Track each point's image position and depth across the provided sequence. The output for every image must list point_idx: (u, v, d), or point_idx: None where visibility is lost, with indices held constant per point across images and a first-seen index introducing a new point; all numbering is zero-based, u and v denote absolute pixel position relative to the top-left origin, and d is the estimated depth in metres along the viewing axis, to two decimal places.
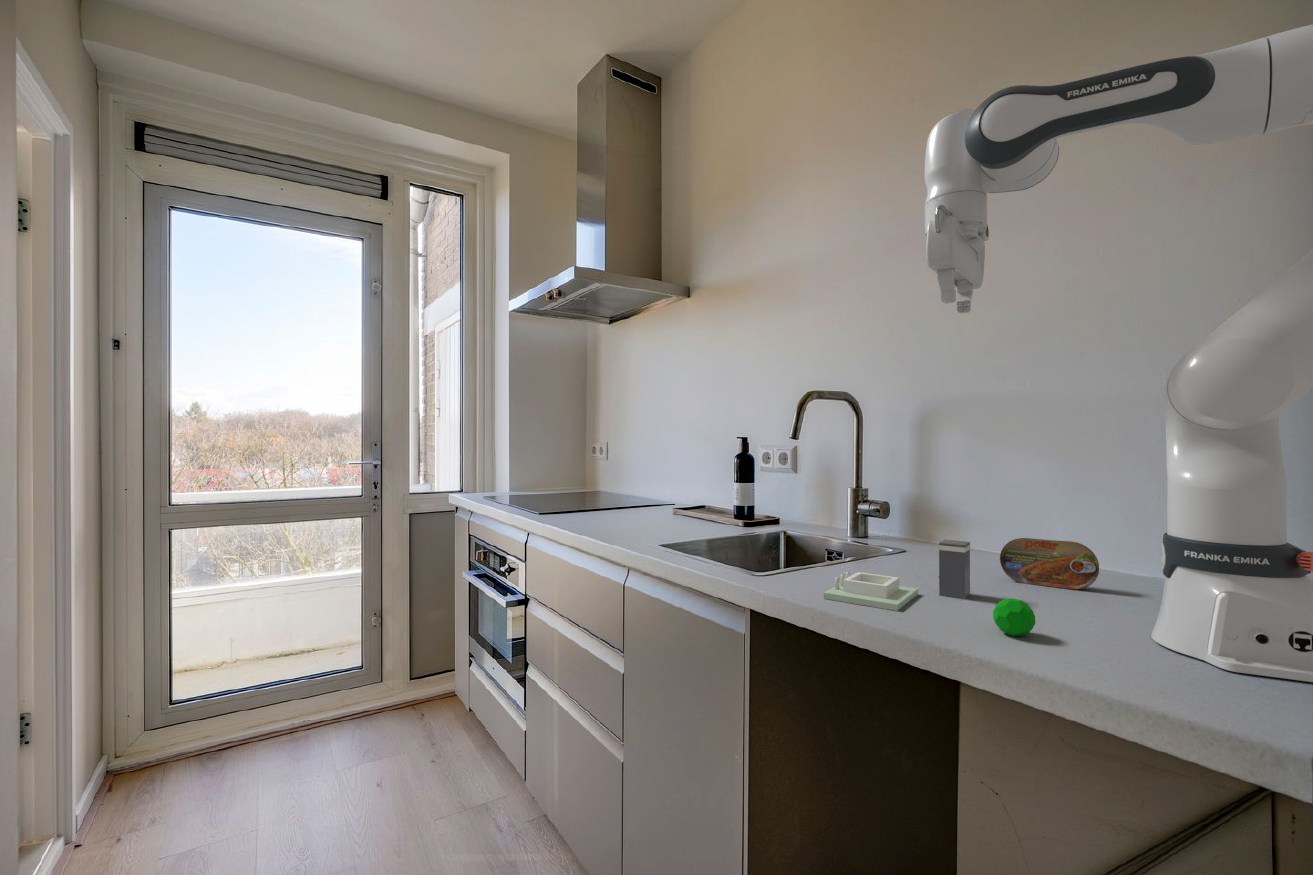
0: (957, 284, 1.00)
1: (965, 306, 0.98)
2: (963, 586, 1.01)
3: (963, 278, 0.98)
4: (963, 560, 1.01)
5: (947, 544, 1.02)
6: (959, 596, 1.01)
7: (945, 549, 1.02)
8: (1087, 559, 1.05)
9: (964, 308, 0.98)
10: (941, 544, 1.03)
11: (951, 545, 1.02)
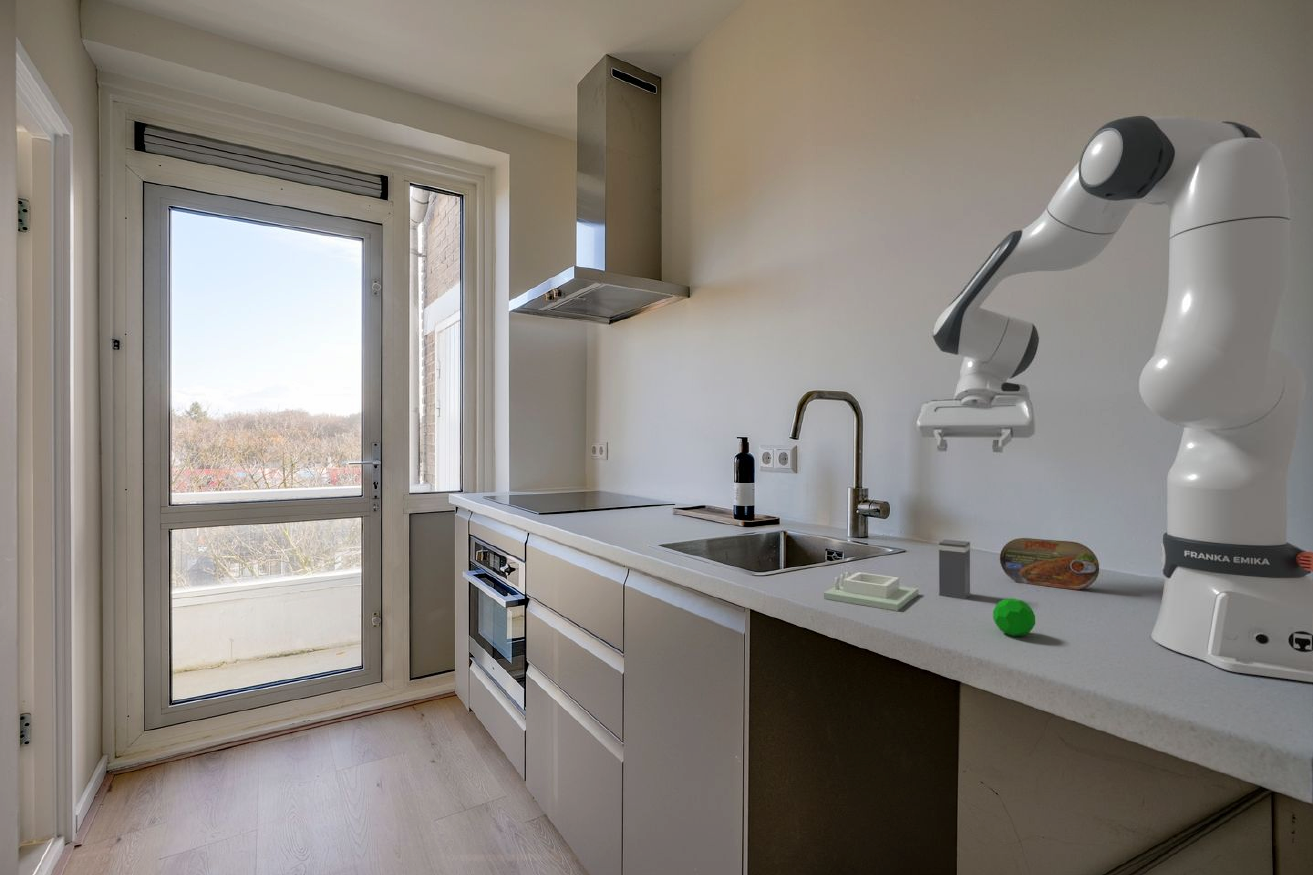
0: None
1: None
2: (963, 586, 1.01)
3: (994, 428, 1.13)
4: (963, 560, 1.01)
5: (947, 544, 1.02)
6: (959, 596, 1.01)
7: (945, 549, 1.02)
8: (1087, 559, 1.05)
9: None
10: (941, 544, 1.03)
11: (951, 545, 1.02)
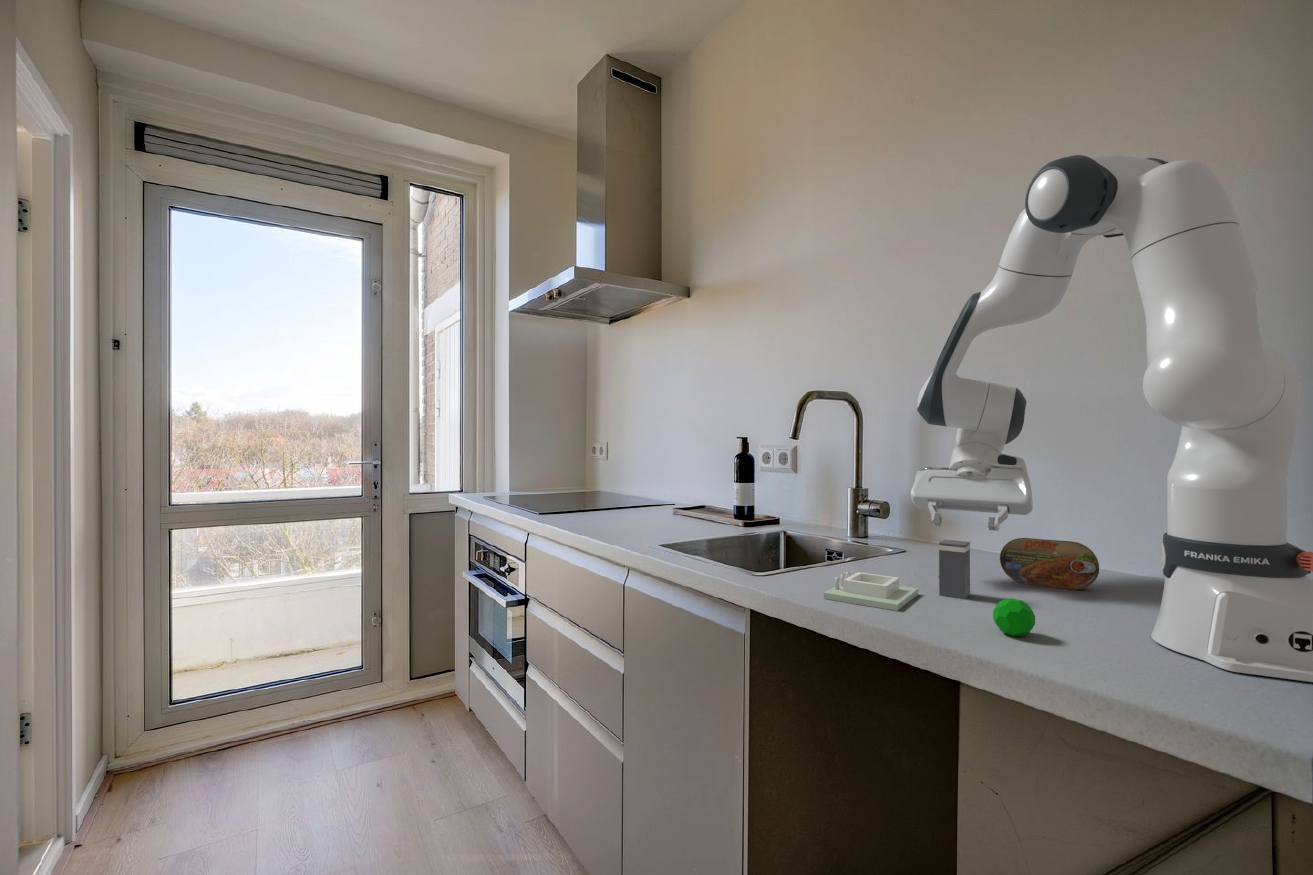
0: None
1: None
2: (963, 586, 1.01)
3: (990, 503, 1.09)
4: (963, 560, 1.01)
5: (947, 544, 1.02)
6: (959, 596, 1.01)
7: (945, 549, 1.02)
8: (1087, 559, 1.05)
9: None
10: (941, 544, 1.03)
11: (951, 545, 1.02)
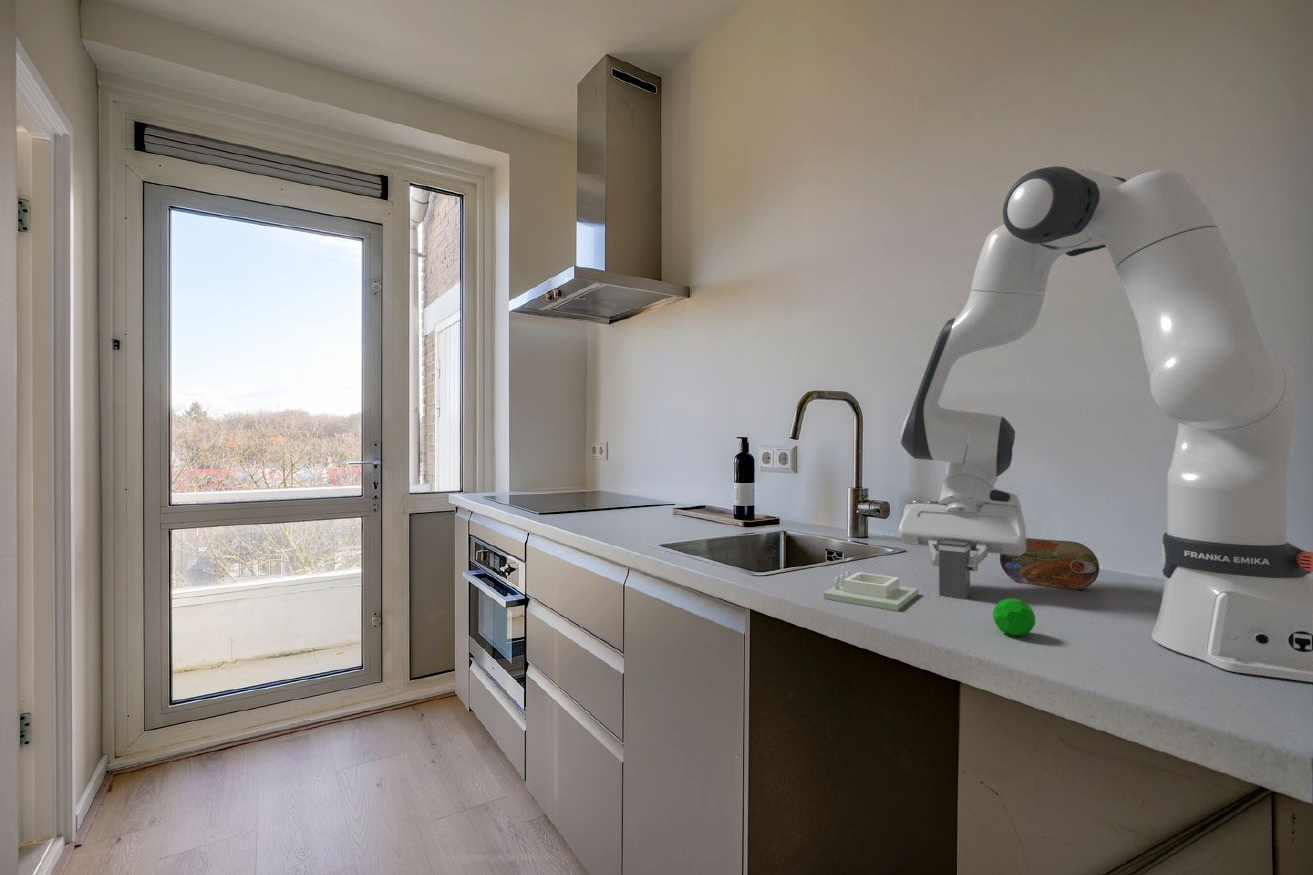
0: (991, 550, 1.03)
1: None
2: (963, 586, 1.01)
3: None
4: (963, 560, 1.01)
5: (947, 544, 1.02)
6: (959, 596, 1.01)
7: (945, 549, 1.02)
8: (1087, 559, 1.05)
9: None
10: (941, 544, 1.03)
11: (951, 545, 1.02)
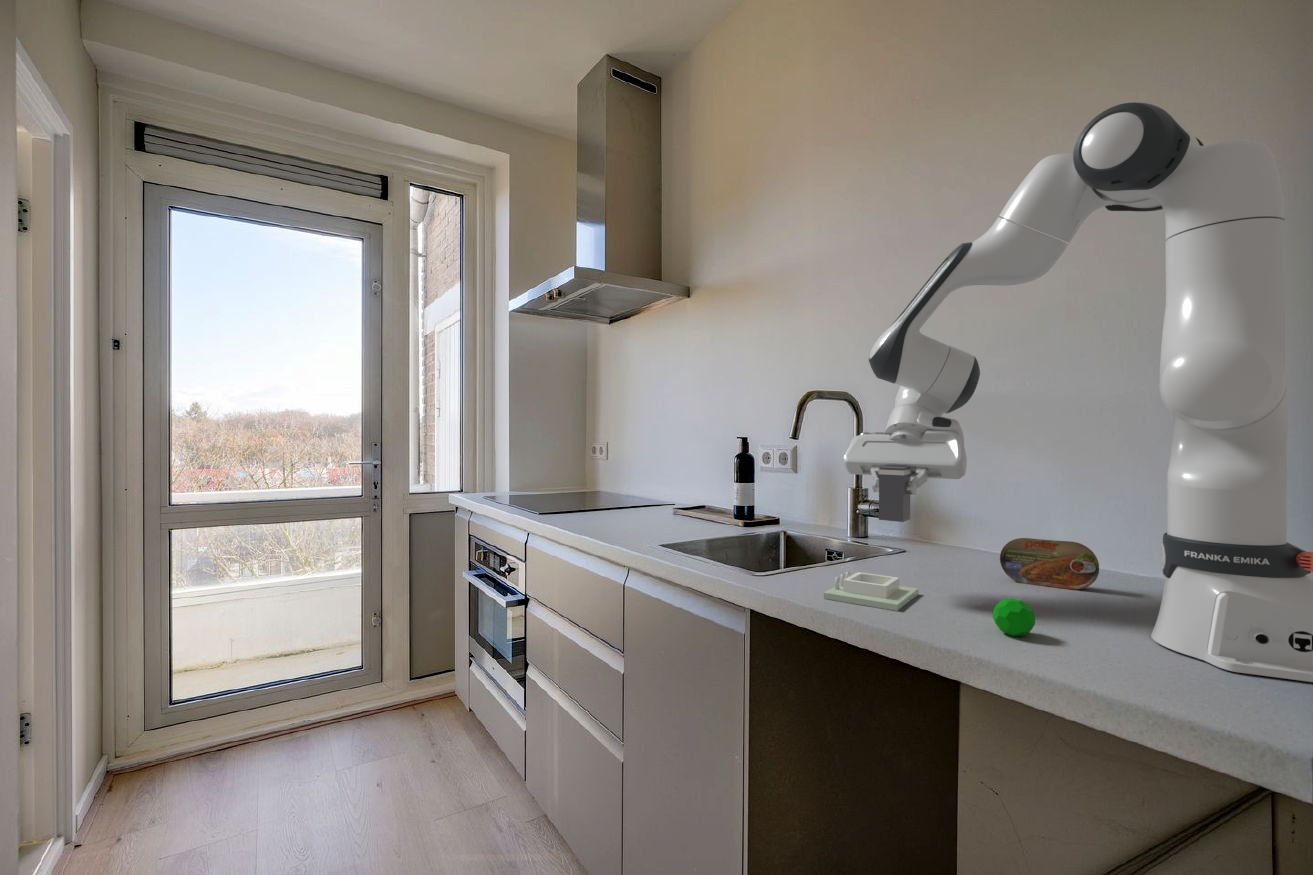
0: (931, 475, 1.03)
1: None
2: (901, 509, 1.01)
3: None
4: (901, 483, 1.01)
5: (887, 468, 1.02)
6: (897, 520, 1.01)
7: (885, 473, 1.02)
8: (1087, 559, 1.05)
9: None
10: (881, 468, 1.03)
11: (890, 469, 1.02)
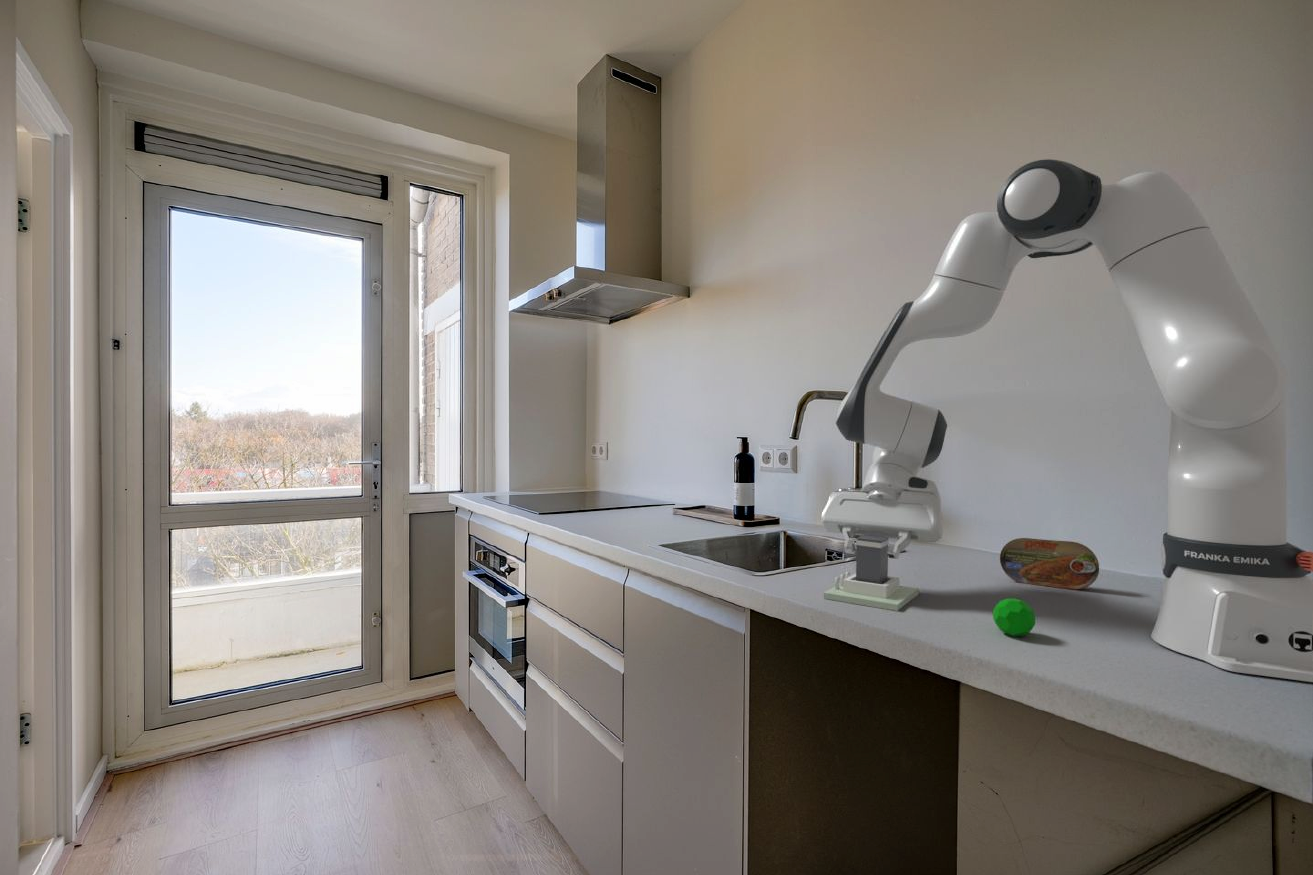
0: None
1: None
2: (878, 582, 1.00)
3: None
4: (879, 556, 1.00)
5: (864, 539, 1.01)
6: None
7: (862, 544, 1.01)
8: (1087, 559, 1.05)
9: None
10: (859, 539, 1.02)
11: (868, 540, 1.01)
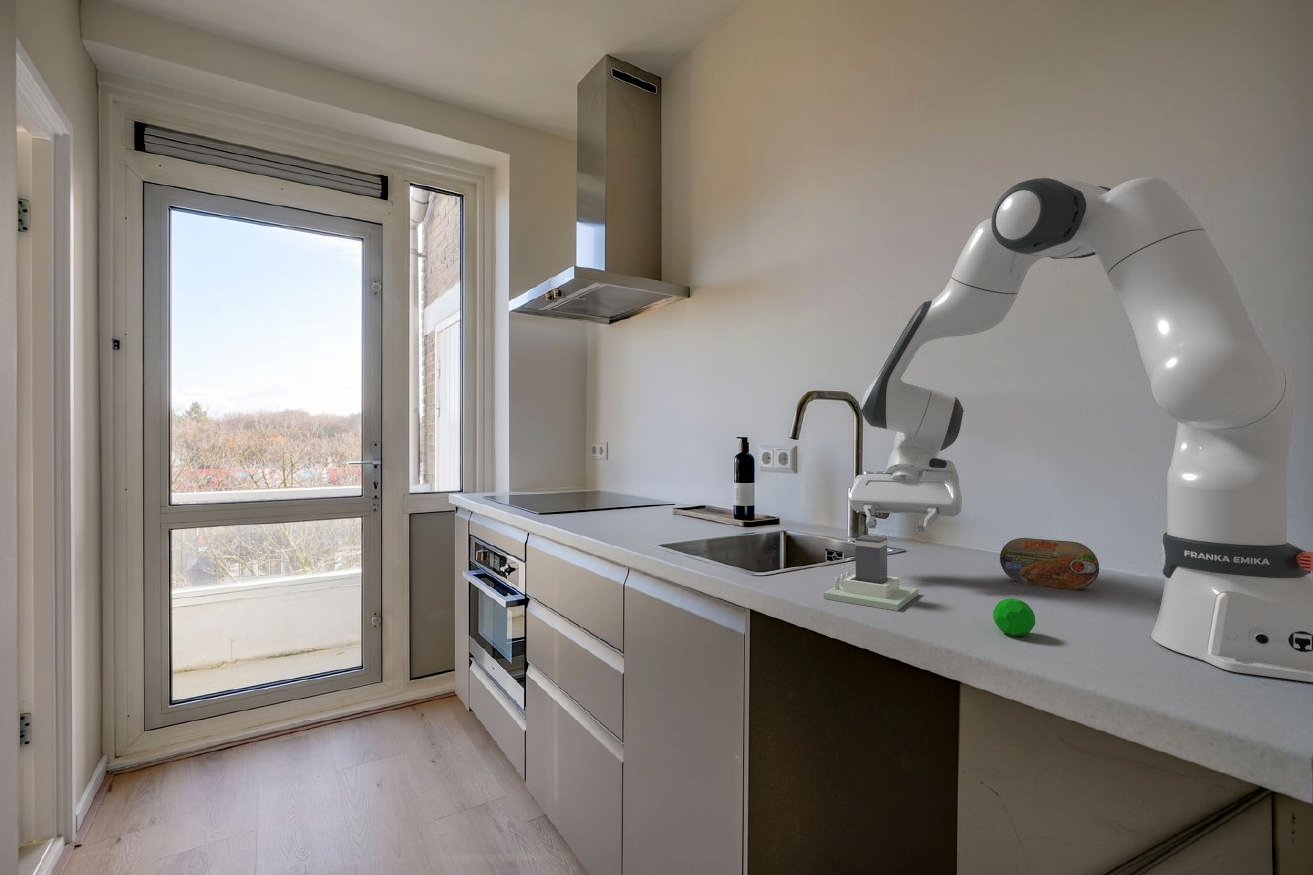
0: None
1: None
2: (878, 582, 1.00)
3: (922, 505, 1.12)
4: (878, 555, 1.00)
5: (863, 539, 1.01)
6: None
7: (861, 544, 1.02)
8: (1087, 559, 1.05)
9: None
10: (857, 539, 1.02)
11: (867, 540, 1.01)
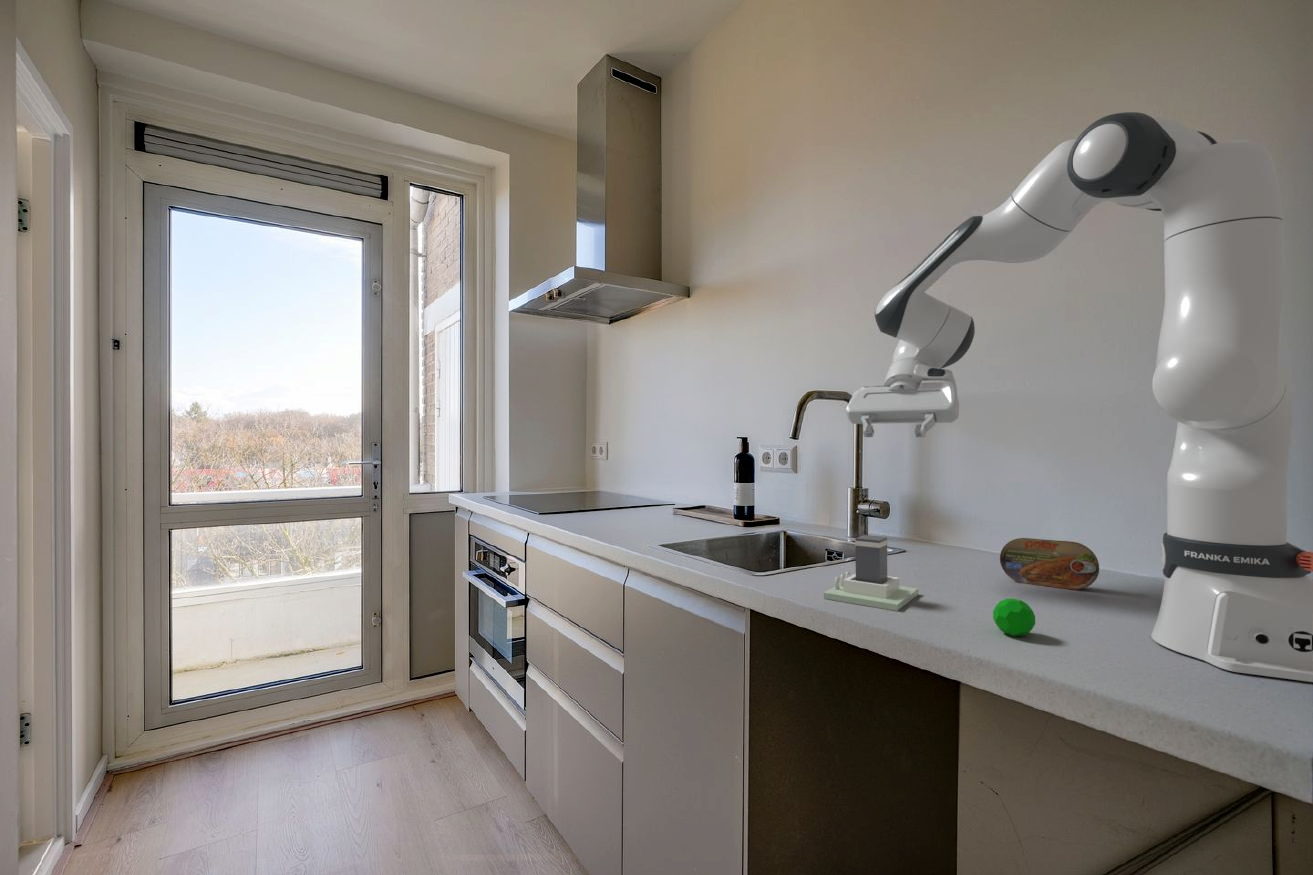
0: None
1: None
2: (878, 582, 1.00)
3: (919, 413, 1.13)
4: (878, 555, 1.00)
5: (863, 539, 1.01)
6: None
7: (861, 544, 1.02)
8: (1087, 559, 1.05)
9: None
10: (857, 539, 1.02)
11: (867, 540, 1.01)
